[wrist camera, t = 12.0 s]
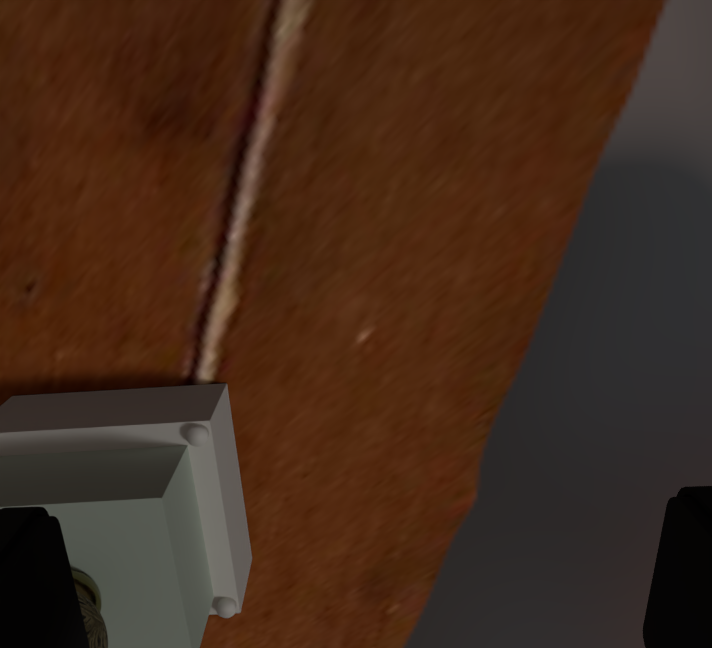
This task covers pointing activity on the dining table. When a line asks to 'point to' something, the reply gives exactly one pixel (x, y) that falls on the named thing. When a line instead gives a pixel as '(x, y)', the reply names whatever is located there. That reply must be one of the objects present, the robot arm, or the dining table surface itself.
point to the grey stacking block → (137, 501)
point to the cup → (91, 610)
